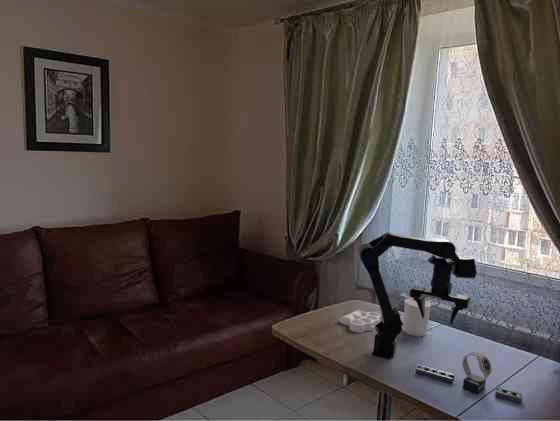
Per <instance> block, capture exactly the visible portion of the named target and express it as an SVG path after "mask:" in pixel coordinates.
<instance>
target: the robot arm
mask: <svg viewBox="0 0 560 421" xmlns="http://www.w3.org/2000/svg"><path fill="white" fill-rule="evenodd" d="M391 247H396V248H403V249H409V250H414V251H420V252H425V253H428V254H431V255H432V256H431V257H429V258H427V262H428V263H429V264H432V265H433V268H432V277H431V280H430V284H429V286H430V287H431V289H430V291H428V290H426V287H423V286H419V285H414V286H413V287H412V288H411V289H410V290H409V298H413V300H415V301H416V302H417V305H418V307H419V309H420V312H421V315H422V318H424V316H425V300H426V298H430V299H436V300H441V301H444V302H445V301H446V302H450V303H454V305H453V308H452V311H451V312H452V313H451V317H450V323H449V324H450V325H451V326H452V325H453V323H454V321H455V319H456V317H457V315H458V313H459V312H460V311H464V310H465V309H468V308H469V306H470V305H471V297H470V296H469V295H465V294H459V293H457V295H456V296H453V295H452V294H451V293H452V287H453V284H452V283H451V276H452V275H454V277H455V278H460V279H475V278H476V276H477V272H478V271H477V267H476V263H475V262H476V259H475V258H474V257H459V255H458V254H457V253H456V245H454V243H453V242H451V241H450V240H448V239H446V238H444V237H433V238H432V237H431V238H422V237H414V236H409V235H402V234H395V233H391V232H385V233H383V234H382V235H381V236H378V237H377V238H375V239H373V240H371V241H369V242H367V243H363V244H361V245H360V246H359V247H358V249H357V254H358V256H359V258H360V260H361V263H362V264H363V266H364V269H365V270H366V272H367V273H368V277H369V279H370V282H371V285H372V288H373V290H374V293H375V296H376V299H377V302H378V306H379V308H380V311H379V312H380V314H381V322H379V323H378V324H377V325H376V326H375V331H376V334H375V335H374V342H373V343H374V344H373V351H372V352H371V355H374V356H376V357H380V358H384V359H387V360H391V359H392V357H394V356H395V354H396V352H397V350H396V349H397V342H396V340H397V337H398V336H399V335H401V332H402V331H403V326H404V322H403V321H402V319H401V314H400V312H399V311H398V309H397V307H395V308H392V304H391V302H390V298H389V295H388V291H387V289H386V287H385V284H384V281H383V277H382V274H381V271H380V260H379V257H381V256H382V255H383V254H384V253H386V252H387V251H388V250H389V249H390V248H391Z"/></svg>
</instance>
